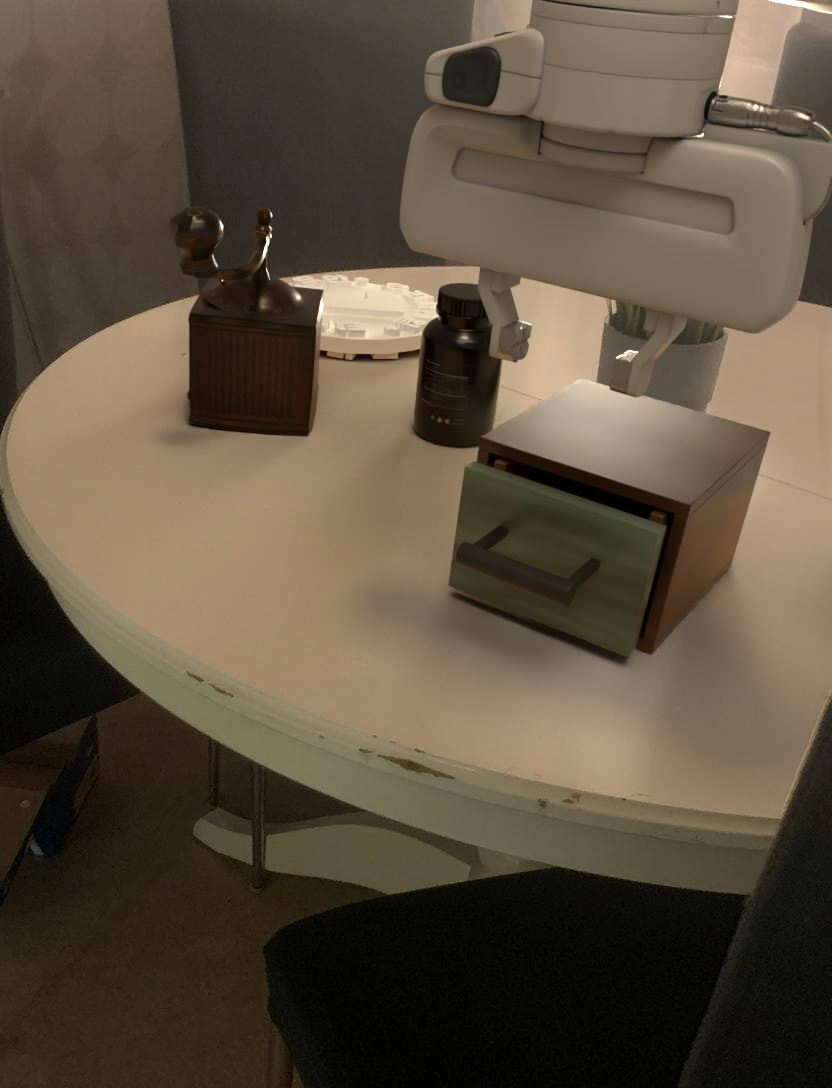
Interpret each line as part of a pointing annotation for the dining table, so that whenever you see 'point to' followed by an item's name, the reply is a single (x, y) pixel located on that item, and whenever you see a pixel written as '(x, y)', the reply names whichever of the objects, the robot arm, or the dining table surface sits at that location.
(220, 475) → the dining table surface
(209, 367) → the coffee grinder
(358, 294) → the white wall clock
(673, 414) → the cabinet
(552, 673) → the dining table surface
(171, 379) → the dining table surface
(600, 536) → the drawer
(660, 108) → the robot arm
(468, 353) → the supplement bottle
